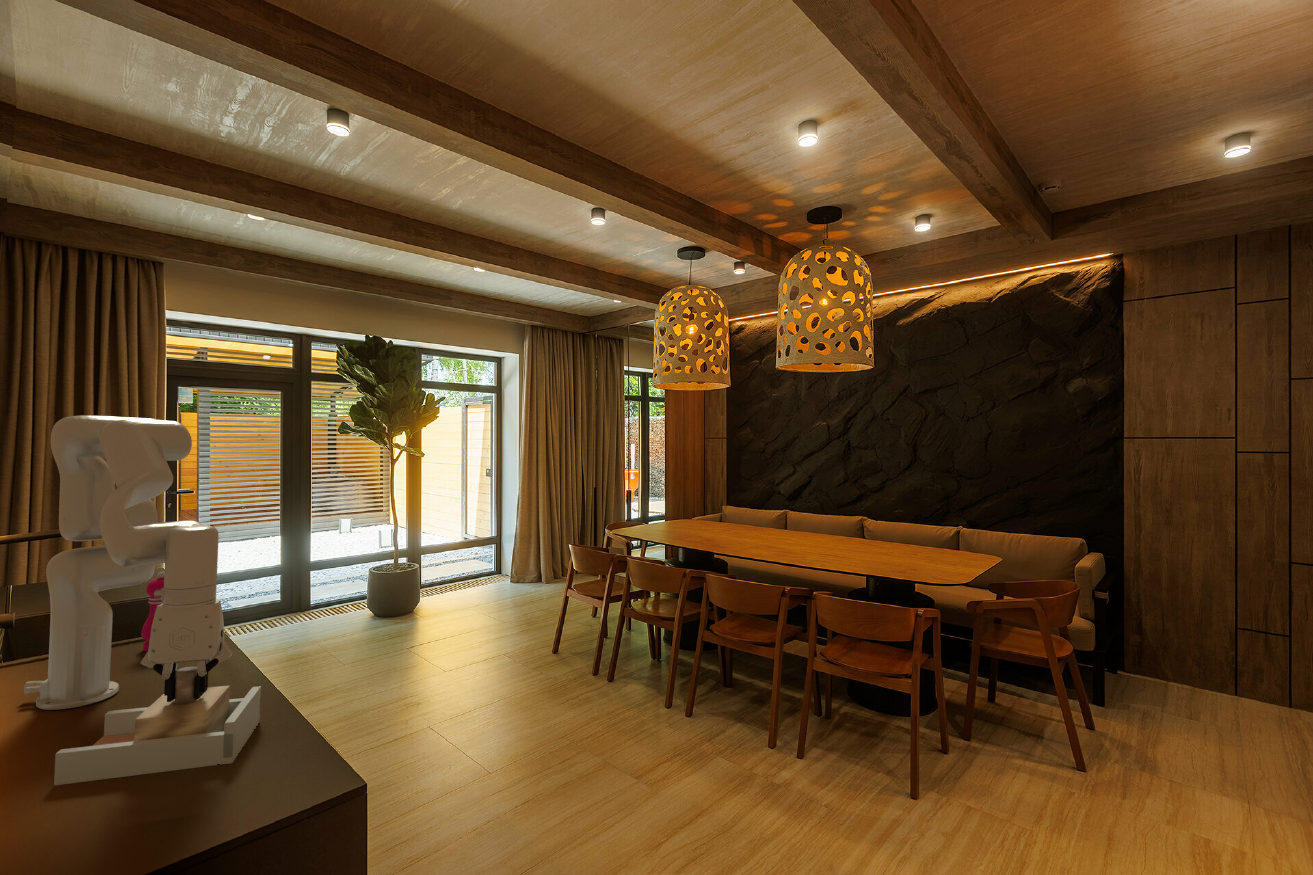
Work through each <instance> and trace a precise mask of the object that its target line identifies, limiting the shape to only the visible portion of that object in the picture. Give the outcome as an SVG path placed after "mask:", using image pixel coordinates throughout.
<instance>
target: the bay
mask: <svg viewBox="0 0 1313 875" xmlns="http://www.w3.org/2000/svg"><path fill="white" fill-rule="evenodd" d="M261 694H262V686H260V685H259V686H252V687H251V688H250V690H249V691H248V692H247V693H246V695H245V696H244V697H241V698H230V700H229V718H228V719H227V720H226V722H225V723H224V729H223V730H222V731H221V732H214V733H205V734H196V735H187V736H178V737H169V738H160V739H151V740H142V741H134V736H135V719H136V718H137V717H138V716H140V715H141V714H142V713H143V712H144V711H145V710H146V709H147V708H148V707H149V706H148V707H136V708H128V709H127V708H125V709H115V710H108V711H107V712H106V713H105V714H104V725H103V726H104V727H103V736H102V737H101V738H99V739H98V741H96V742H95V743H94V744H92V745H89V746H80V747H70V748H63V749H60V750H58V751H57V752H56V753H55V758H54V760H55V761H54V778H53V779H54V780H53V782H54V783H53V786H60V785H69V784H78V783H84V782H85V783H86V782H92V781H99V780H101V781H102V780H108V779H109V780H110V779H115V778H123V777H132V776H139V775H140V776H141V775H146V774H147V775H148V774H157V773H164V772H172V771H180V770H187V769H195V768H202V767H204V768H205V767H213V766H218V765H217V764H220V765H226V764H233V763H234V762H235V760H236V758H237V756H239V754H238V753H241V751H242V749H243V748H244V746H245V745H246V744H247V743H248V742H247V741H248V740H249V739H250V737H251V736H252V735H253V733H254V732H255V730H256V728H257V727H258V725H259V724H258V723H260V722H261V721H260V719H261V697H262V695H261ZM256 726H257V727H256ZM254 729H255V730H254ZM242 747H243V748H242Z"/></svg>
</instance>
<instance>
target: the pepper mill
mask: <svg viewBox="0 0 1313 875" xmlns="http://www.w3.org/2000/svg"><path fill="white" fill-rule="evenodd" d="M164 575H165V571H159V572H158V573H157V577H156V578H154V579H152V580H149V582H148V583H147V585H146V588H145V589H146V594H147V595H149V597H148V598H147V599H148V601H147V603H148V604H150V605H149V607H150V609H149V613H148V617H147V618H146V621H145V622H144V624H143V626H142V629H141V636H140V637H141V638H142V639H143V640H144V643H143V644H142V650H143V651H144V652H146V653H147V652H148V650H149V642H150V635H151V629H152V624H153V619H154V615H155V611H156V608H157V606H158V605H160V604H162V603H163V602H162V599H161V598H159V597H158V598H155V597H154V592H155V590H160V589H162V588H163V587H164Z"/></svg>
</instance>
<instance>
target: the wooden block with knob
mask: <svg viewBox="0 0 1313 875" xmlns="http://www.w3.org/2000/svg"><path fill="white" fill-rule="evenodd" d="M197 673H198V668H197V666H186V667H185V666H184V667H181V668H179V669H176V680H175V699H174V700H173V701H171V702H167V696H165V695H164V693H163V694H161V696H159V697H158V698H157V699H156V700H155V701H154V702H153V703H152V704H151V705H149V706H148V708H147V709H146V710H145V711H144V712H143V713H142V714H141V715H140V716H138V717H137V718H136V719H135V736H134V741H142V740H151V739H160V738H169V737H178V736H187V735H196V734H205V733H214V732H221V731H222V730H223V729H224V723H225V722H226V720H227V719H228V718H229V700H230V699H231V698H230V697H231V696H230V694H231V685H222V686H221V685H220V686H208V689H207V691H206V692H204V694H203V695H202V696H201V697H200V698H199V699H194V678H195V677H196V676H197Z"/></svg>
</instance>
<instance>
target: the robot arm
mask: <svg viewBox="0 0 1313 875" xmlns="http://www.w3.org/2000/svg"><path fill="white" fill-rule="evenodd" d="M192 446H193V441H192V436H191V434H190V432H189V430H188V429H187V427H186V426H185V425H183V424H182V423H180V422H179V421H175V420H168V419H167V420H166V419H158V418H147V417H130V416H128V417H127V416H113V415H91V414H90V415H71V416H66V417H62V418H61V419H59V420H58V421H57V422H55V424H54V426H53V427H52V429H51V434H50V449H51V452H52V456H53V459H54V461H55V464H56V466H57V469H58V473H59V481H60V482H59V505H58V511H59V512H58V530H59V533H60V535H61V537H62V538H63V539H65V540H67V541H72V542H87V541H88V542H89V541H91V542H92V541H102V540H103V542H104V543H103V545H96V546H95V545H94V546H86V547H78V548H72V549H67V550H63V551H61V552H59V553H57V554H55V555H54V556H52V557H51V558H50V560H49V561H48V563H47V564H46V570H45V572H46V573H45V575H46V582H47V586H48V592H49V602H50V623H49V624H50V626H49V647H48V666H47V667H48V668H47V678H46V679H45V680H28V681H26V682H25V683H24V685H23V694H24V695H33V694H37V693H38V694H39V695H40V696H39V697H37V699H36V700H35V706H36V708H37V709H40V710H46V711H47V710H48V711H51V710H52V711H54V710H55V711H56V710H58V711H59V710H67V709H74V708H79V707H84V706H88V705H91V704H95V703H98V702H101V701H104V700H106V699H108V698H111V697H112V696H114V695H115V694H117V693H118V692H119V689H120V685H119V683H118V682H115V681H113V680H112V681H111V680H110V679H111V658H112V656H111V655H112V636H113V634H112V633H113V615H114V614H113V609H112V607H111V605H110V604H109V603H108V601H106V600H105V599H103V598H102V597H101V596H100V595H99V592H102V591H106V590H111V589H119V588H125V587H131V586H137V585H141V584H144V583H146V582H148V581H150V580H151V579H152V577H153V575H154V573H155V570H156V567H157V566H156V565H159V564H164V572H165V575H164V587H163V588H162V589H160V590H155V592H154V597H155V598H158V597H159V598H161V599H162V602H163V603H162V604H160V605H158V606H157V608H156V611H155V615H154V619H153V624H152V629H151V635H150V642H149V650H148V652H146V653H145V655H144V657H143V658H142V660H140V664H141V665H142V666H145V667H146V668H149V669H152V670H153V671H155V672H156V673H157V674H158V675H160V676H161V679H163V680H164V690H163V691H164V692H163V694H164V695H165V696H167V702H171V701H173V700H174V699H175V680H176V671H177V670H178V663H190V662H196V667H197V668H198V673H197V676H196V677H195V678H194V699H199V698H200V697H201V696H202V695H203V694H204V692H206V691H207V689H208V687H209V672H210V671H212V669H214V668H215V667H216V666H218V665H219V664H221V663H222V662H224V661H226V660H228V659H229V658H231V657H232V655H233V651H232V650H231V649H230V647H229V645H228V644H227V642H226V640H225V622H224V614H223V608H222V602H221V599H220V598H217V585H218V583H217V582H218V580H217V579H218V562H219V560H218V559H219V537H220V536H219V531H218V528H216V527H215V526H213V525H206V524H205V525H204V524H202V523H201V522H199V521H197V520H176V521H162V522H158V520H159V519H158V510H157V507H156V505H155V502H154V501H153V500H152V499H154V498H156V497H158V496H161V494H164V493H165V492H166V491H167V490H169V488H170V487H171V486H172V484H173V482H174V475H173V473H172V470H171V468H170V466H169V464H168V461H174V462H175V461H181V460H184V459H186V458H187V457H188V456H189V454H190V452H191V450H192ZM102 457H104V458H105V459H103V458H102ZM218 653H219V654H218ZM216 655H217V656H216Z"/></svg>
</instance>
